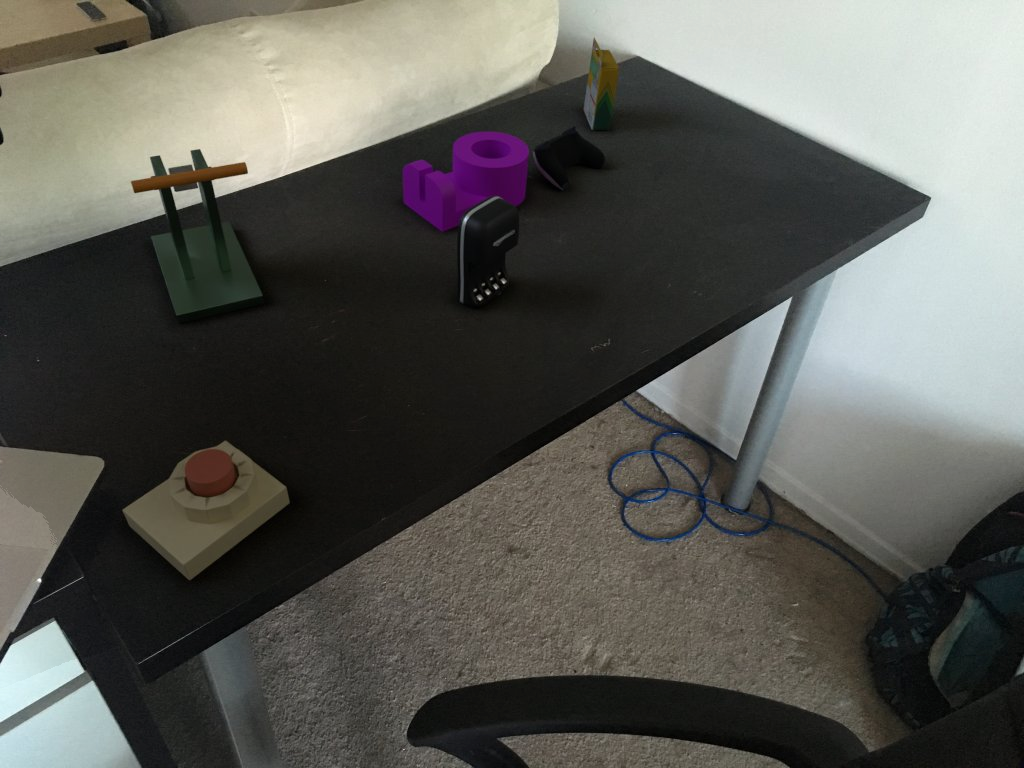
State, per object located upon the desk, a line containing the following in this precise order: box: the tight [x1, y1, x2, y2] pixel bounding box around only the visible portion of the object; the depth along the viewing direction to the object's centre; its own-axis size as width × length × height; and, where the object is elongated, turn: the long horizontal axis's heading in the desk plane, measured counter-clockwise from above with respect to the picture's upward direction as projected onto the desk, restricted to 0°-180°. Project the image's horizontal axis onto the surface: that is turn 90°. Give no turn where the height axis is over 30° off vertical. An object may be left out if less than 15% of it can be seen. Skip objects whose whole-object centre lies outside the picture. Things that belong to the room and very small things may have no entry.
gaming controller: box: [532, 125, 606, 191], centre depth 111 cm, size 11×4×7 cm
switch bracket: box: [149, 148, 265, 325], centre depth 85 cm, size 16×9×14 cm, turn 27°
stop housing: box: [122, 440, 291, 581], centre depth 64 cm, size 10×8×4 cm
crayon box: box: [583, 37, 620, 131], centre depth 121 cm, size 7×3×12 cm, turn 7°
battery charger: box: [456, 196, 520, 309], centre depth 86 cm, size 7×4×11 cm, turn 142°
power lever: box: [130, 161, 249, 194], centre depth 77 cm, size 13×10×2 cm
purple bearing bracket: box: [402, 131, 530, 233], centre depth 103 cm, size 16×10×6 cm, turn 131°
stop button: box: [185, 448, 236, 497], centre depth 63 cm, size 4×4×2 cm
